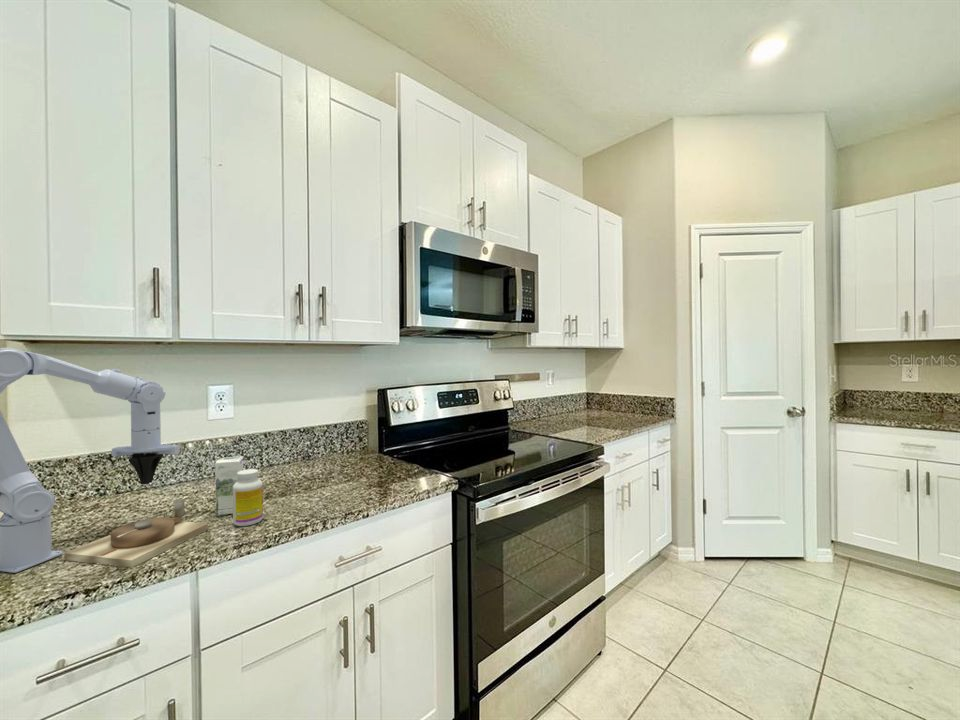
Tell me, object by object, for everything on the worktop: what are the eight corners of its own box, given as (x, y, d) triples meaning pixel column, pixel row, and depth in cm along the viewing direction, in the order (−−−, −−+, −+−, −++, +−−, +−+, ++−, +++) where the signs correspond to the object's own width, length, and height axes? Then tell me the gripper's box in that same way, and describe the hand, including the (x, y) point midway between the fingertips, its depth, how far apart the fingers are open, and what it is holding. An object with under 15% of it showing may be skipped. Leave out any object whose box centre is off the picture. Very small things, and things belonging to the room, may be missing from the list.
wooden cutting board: (64, 560, 84) (64, 552, 84) (150, 524, 101) (150, 518, 101) (131, 567, 80) (131, 559, 80) (208, 529, 98) (208, 523, 98)
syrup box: (244, 506, 114) (243, 455, 113) (240, 514, 108) (239, 460, 108) (220, 509, 111) (219, 457, 111) (215, 517, 106) (214, 462, 106)
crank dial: (137, 549, 84) (136, 525, 84) (97, 544, 87) (96, 520, 87) (201, 521, 99) (201, 500, 99) (165, 517, 101) (165, 496, 101)
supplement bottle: (267, 521, 103) (266, 471, 103) (238, 529, 98) (237, 476, 98) (257, 514, 108) (256, 466, 108) (229, 522, 103) (228, 471, 103)
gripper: (186, 425, 106) (187, 477, 106) (126, 427, 105) (127, 479, 105) (169, 430, 99) (170, 485, 99) (104, 432, 98) (105, 488, 98)
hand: (146, 483), depth 102 cm, fingers closed
